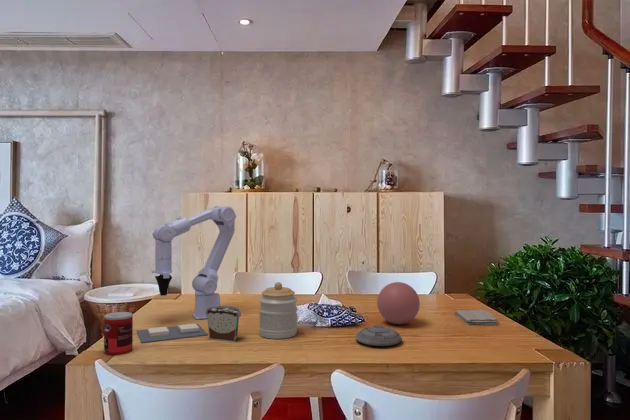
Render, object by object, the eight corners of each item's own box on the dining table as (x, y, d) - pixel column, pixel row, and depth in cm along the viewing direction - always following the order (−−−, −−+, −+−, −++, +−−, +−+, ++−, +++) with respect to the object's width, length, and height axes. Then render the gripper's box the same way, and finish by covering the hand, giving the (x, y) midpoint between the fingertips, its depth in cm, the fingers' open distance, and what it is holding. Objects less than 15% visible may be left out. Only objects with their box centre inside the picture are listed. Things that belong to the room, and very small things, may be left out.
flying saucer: (392, 352, 142) (392, 334, 142) (347, 344, 149) (347, 327, 149) (408, 340, 155) (408, 323, 154) (366, 333, 162) (366, 317, 162)
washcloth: (468, 327, 172) (468, 318, 172) (453, 315, 190) (453, 307, 190) (500, 327, 172) (500, 318, 172) (482, 315, 190) (482, 307, 190)
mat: (197, 324, 172) (197, 323, 172) (207, 335, 158) (207, 334, 158) (136, 331, 162) (136, 330, 162) (141, 343, 149) (141, 342, 149)
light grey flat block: (195, 323, 166) (199, 327, 161) (195, 327, 166) (199, 332, 161) (178, 325, 163) (181, 329, 158) (178, 329, 163) (181, 334, 158)
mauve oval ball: (408, 315, 188) (408, 276, 187) (425, 328, 168) (425, 285, 168) (370, 316, 186) (370, 277, 186) (383, 329, 166) (383, 286, 166)
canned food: (109, 347, 144) (109, 311, 144) (136, 347, 145) (135, 311, 145) (99, 355, 137) (99, 318, 137) (128, 355, 137) (128, 317, 137)
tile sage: (166, 326, 162) (168, 330, 156) (166, 331, 162) (168, 335, 156) (147, 328, 159) (149, 333, 154) (147, 333, 159) (149, 337, 154)
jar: (267, 341, 151) (267, 286, 151) (253, 331, 163) (253, 280, 163) (303, 336, 157) (303, 283, 157) (287, 327, 169) (287, 278, 169)
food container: (247, 337, 156) (247, 307, 156) (238, 342, 151) (238, 311, 150) (215, 333, 160) (215, 304, 160) (205, 338, 155) (205, 308, 154)
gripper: (149, 256, 178) (149, 292, 178) (154, 261, 165) (154, 299, 165) (168, 255, 181) (168, 291, 181) (175, 260, 168) (175, 298, 168)
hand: (163, 295), depth 173 cm, fingers closed
